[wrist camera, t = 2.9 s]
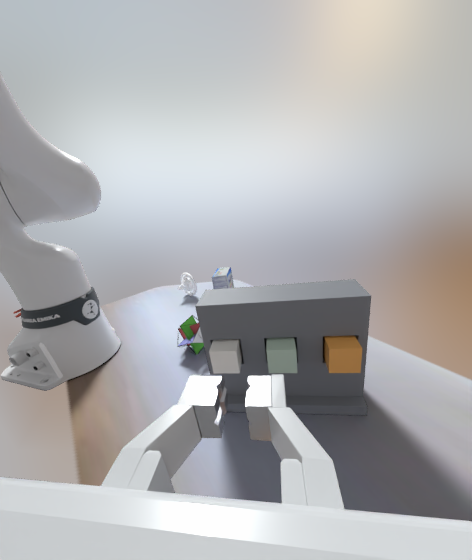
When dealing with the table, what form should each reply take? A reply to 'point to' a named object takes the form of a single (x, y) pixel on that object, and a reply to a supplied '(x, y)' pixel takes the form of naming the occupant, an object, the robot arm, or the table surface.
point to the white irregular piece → (188, 284)
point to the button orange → (342, 354)
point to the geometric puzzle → (191, 335)
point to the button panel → (307, 334)
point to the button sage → (281, 355)
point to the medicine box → (223, 278)
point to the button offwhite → (226, 356)
